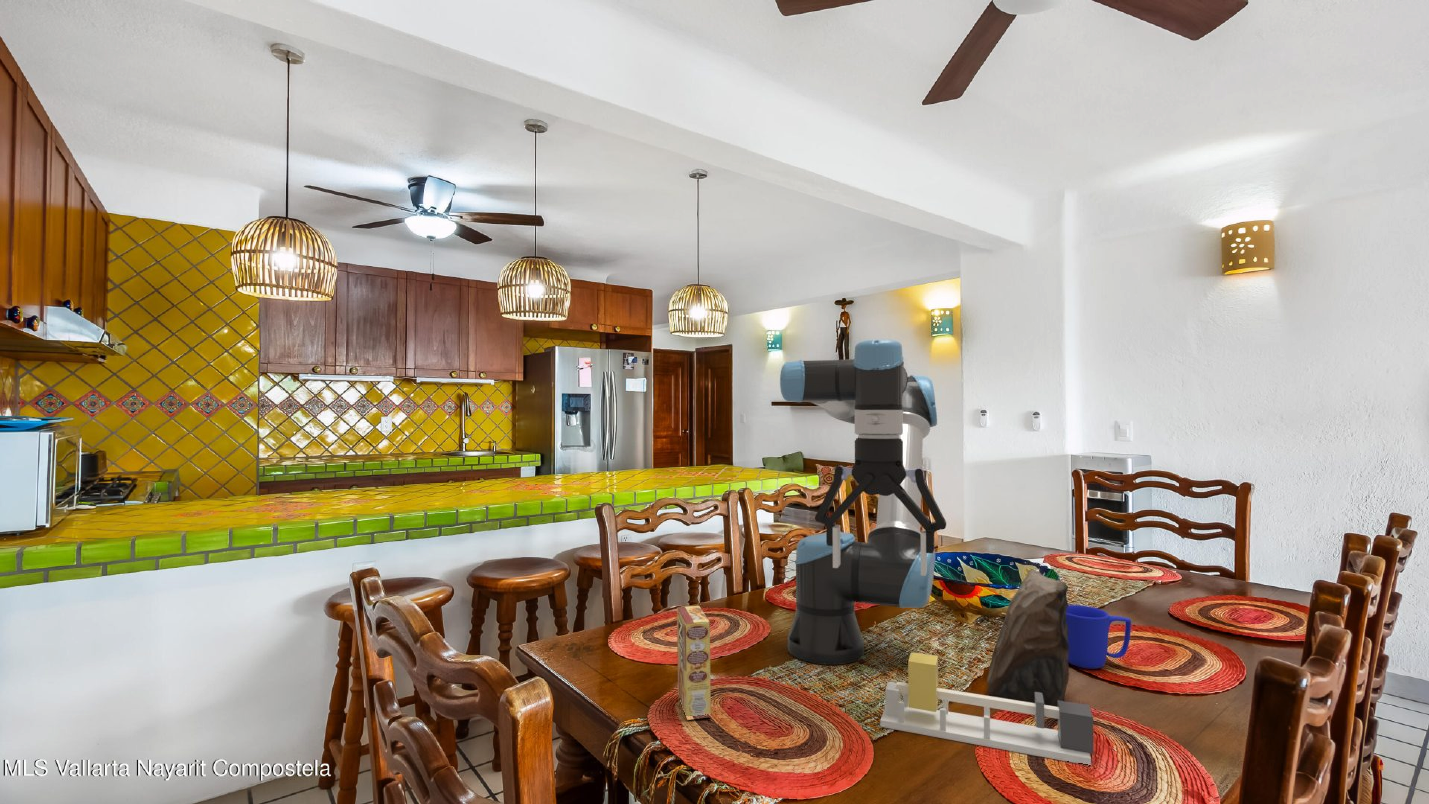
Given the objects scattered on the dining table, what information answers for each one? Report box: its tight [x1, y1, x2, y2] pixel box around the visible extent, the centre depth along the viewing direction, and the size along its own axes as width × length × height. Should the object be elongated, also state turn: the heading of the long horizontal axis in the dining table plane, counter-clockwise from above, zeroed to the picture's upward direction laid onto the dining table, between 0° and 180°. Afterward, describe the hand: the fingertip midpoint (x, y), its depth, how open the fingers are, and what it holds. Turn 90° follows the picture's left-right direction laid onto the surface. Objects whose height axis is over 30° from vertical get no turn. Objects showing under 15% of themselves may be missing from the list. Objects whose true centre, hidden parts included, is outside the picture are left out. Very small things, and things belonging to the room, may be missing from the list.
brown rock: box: [986, 569, 1070, 707], centre depth 109 cm, size 13×13×20 cm
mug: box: [1066, 604, 1132, 670], centre depth 122 cm, size 8×12×10 cm
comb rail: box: [879, 681, 1094, 766], centre depth 96 cm, size 28×7×7 cm, turn 67°
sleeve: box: [907, 652, 939, 712], centre depth 99 cm, size 4×4×7 cm
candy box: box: [676, 605, 712, 716], centre depth 105 cm, size 9×4×15 cm, turn 13°
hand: (879, 570), depth 103 cm, fingers open, 13 cm apart
